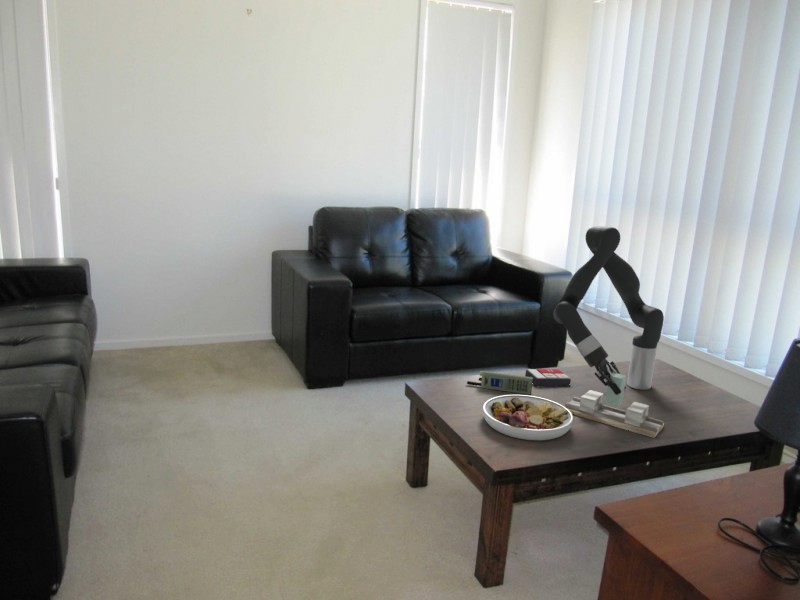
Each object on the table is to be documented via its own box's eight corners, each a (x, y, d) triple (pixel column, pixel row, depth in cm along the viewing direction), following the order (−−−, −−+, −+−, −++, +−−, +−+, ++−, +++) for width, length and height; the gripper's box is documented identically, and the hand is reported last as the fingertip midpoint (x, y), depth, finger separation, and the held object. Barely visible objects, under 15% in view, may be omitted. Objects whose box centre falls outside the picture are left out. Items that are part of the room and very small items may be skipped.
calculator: (571, 377, 253) (537, 377, 249) (570, 387, 254) (535, 387, 250) (559, 368, 263) (525, 367, 260) (557, 378, 264) (524, 377, 261)
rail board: (575, 401, 237) (577, 385, 235) (664, 426, 218) (666, 408, 217) (562, 411, 227) (564, 393, 226) (654, 437, 209) (657, 419, 207)
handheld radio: (530, 395, 241) (466, 387, 247) (531, 393, 245) (467, 384, 250) (532, 379, 240) (467, 370, 246) (533, 376, 243) (468, 368, 249)
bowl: (497, 401, 235) (499, 381, 233) (579, 418, 222) (581, 398, 220) (469, 431, 208) (471, 408, 207) (560, 453, 196) (563, 429, 194)
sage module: (609, 398, 224) (613, 372, 222) (622, 402, 222) (626, 375, 219) (605, 402, 221) (609, 375, 218) (618, 406, 218) (622, 378, 216)
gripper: (592, 349, 215) (623, 392, 211) (606, 341, 227) (636, 381, 223) (576, 360, 220) (605, 402, 216) (590, 351, 231) (619, 391, 227)
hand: (621, 391), depth 219 cm, fingers closed on sage module, 4 cm apart
